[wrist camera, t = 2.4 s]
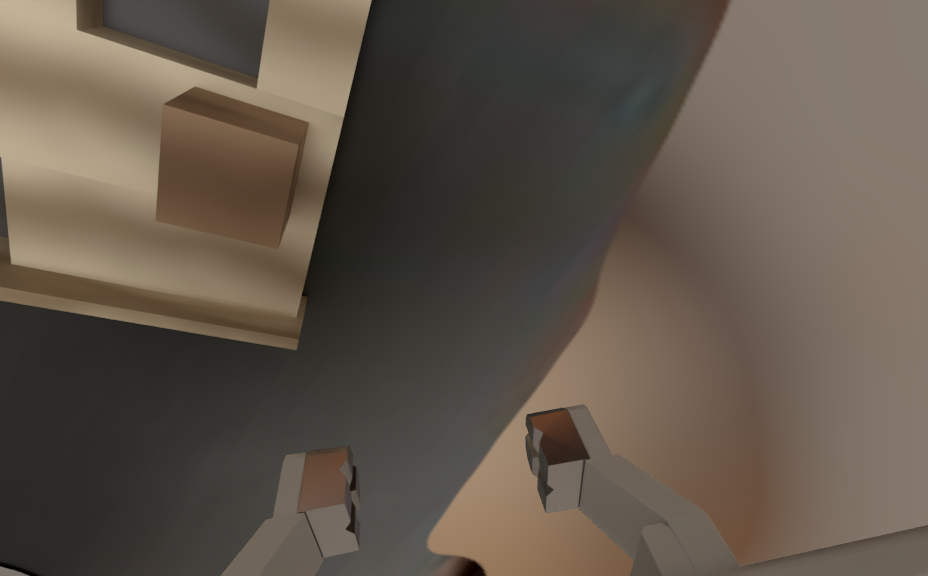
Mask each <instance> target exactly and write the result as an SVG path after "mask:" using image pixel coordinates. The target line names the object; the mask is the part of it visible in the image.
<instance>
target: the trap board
mask: <svg viewBox="0 0 928 576" xmlns="http://www.w3.org/2000/svg"><path fill="white" fill-rule="evenodd" d="M371 1H372V0H0V301H6V302H12V303H18V304H24V305H30V306H36V307H42V308H48V309H54V310H60V311H66V312H72V313H78V314H84V315H90V316H96V317H102V318H108V319H114V320H120V321H126V322H131V323H137V324H143V325H149V326H155V327H161V328H167V329H173V330H179V331H185V332H191V333H197V334H203V335H209V336H215V337H221V338H227V339H233V340H239V341H245V342H251V343H257V344H263V345H269V346H275V347H280V348H286V349H292V350H297V346H298V342H299V337H300V332H301V327H302V322H303V317H304V313H305V308H306V303H307V298H308V297H306V296H302V292H303V288H304V283H305V279H306V275H307V271H308V266H309V262H310V258H311V254H312V250H313V245H314V241H315V237H316V233H317V229H318V224H319V220H320V216H321V212H322V207H323V203H324V199H325V195H326V191H327V186H328V182H329V178H330V174H331V170H332V165H333V161H334V157H335V153H336V148H337V144H338V140H339V136H340V132H341V127H342V123H343V119H344V115H345V110H346V106H347V102H348V98H349V94H350V89H351V85H352V81H353V77H354V73H355V68H356V64H357V60H358V56H359V51H360V47H361V43H362V39H363V35H364V30H365V26H366V22H367V18H368V13H369V9H370V5H371ZM193 87H199V88H202V89H205V90H208V91H211V92H214V93H218V94H221V95H224V96H227V97H230V98H233V99H236V100H240V101H243V102H246V103H249V104H252V105H255V106H258V107H262V108H265V109H268V110H271V111H274V112H277V113H280V114H284V115H287V116H290V117H293V118H296V119H299V120H303V121H306V122H309V125H308V130H307V135H306V140H305V145H304V150H303V155H302V160H301V165H300V169H299V174H298V179H297V184H296V189H295V194H294V199H293V204H292V208H291V213H290V217H289V220H288V222H287V225H286V228H285V231H284V234H283V237H282V239H281V242H280V245H279V248H278V249H275V248H271V247H267V246H262V245H258V244H254V243H249V242H245V241H241V240H236V239H232V238H227V237H223V236H219V235H214V234H210V233H206V232H201V231H197V230H193V229H188V228H184V227H180V226H175V225H171V224H167V223H162V222H158V221H155V220H156V205H157V189H158V173H159V157H160V141H161V126H162V110H163V104H164V103H166V102H168V101H170V100H171V99H173V98H175V97H177V96H179V95H180V94H182V93H184V92H186V91H188V90H189V89H191V88H193Z"/></svg>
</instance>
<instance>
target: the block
mask: <svg viewBox="0 0 928 576" xmlns="http://www.w3.org/2000/svg"><path fill="white" fill-rule="evenodd" d="M308 125H309V122H306V121H303V120H299V119H296V118H293V117H290V116H287V115H284V114H280V113H277V112H274V111H271V110H268V109H265V108H262V107H258V106H255V105H252V104H249V103H246V102H243V101H240V100H236V99H233V98H230V97H227V96H224V95H221V94H218V93H214V92H211V91H208V90H205V89H202V88H199V87H193V88H191V89H189V90H188V91H186V92H184V93H182V94H180V95H179V96H177V97H175V98H173V99H171V100H170V101H168V102H166V103H164V104H163V110H162V126H161V141H160V157H159V173H158V189H157V205H156V220H155V221H158V222H162V223H167V224H171V225H175V226H180V227H184V228H188V229H193V230H197V231H201V232H206V233H210V234H214V235H219V236H223V237H227V238H232V239H236V240H241V241H245V242H249V243H254V244H258V245H262V246H267V247H271V248H275V249H278V248H279V245H280V242H281V239H282V237H283V234H284V231H285V228H286V225H287V222H288V220H289V217H290V213H291V208H292V204H293V199H294V194H295V189H296V184H297V179H298V174H299V169H300V165H301V160H302V155H303V150H304V145H305V140H306V135H307V130H308Z"/></svg>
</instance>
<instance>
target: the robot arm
mask: <svg viewBox="0 0 928 576" xmlns="http://www.w3.org/2000/svg"><path fill="white" fill-rule="evenodd" d="M526 427H527V429H528V432H529V433H528V434H527V436H526V452H527V457H528V461H529V465H530V468H531V471H532V474H534V475H535V476H536V477H537V478H538V492H539V495H540V498H541V501H542V504H543V506H544V509H545V512H546V513H551V512H557V511H563V510H569V509H575V508H579V510H580V511H581V512H582V513H583V514H584V515H586V516H587V517H588V518H589V519H590V520H591V521H592V522H593V523H594V524H595V525H596V526H597V527H598V528H599V529H600V530H602V531H603V532H604V533H605V534H606V535H607V536H608V537H609V538H610V539H611V540H612V541H613V542H614V543H615V544H617V545H618V546H619V547H620V548H621V549H622V550H623V551H624V552H625V553H626V554H627V555H628V556H629V557H631V558H632V559H633V560H634V564H633V567H632V571H631V575H630V576H928V525H926V526H922V527H917V528H913V529H908V530H903V531H899V532H894V533H890V534H885V535H881V536H876V537H871V538H867V539H862V540H858V541H853V542H849V543H845V544H840V545H836V546H831V547H826V548H822V549H817V550H812V551H808V552H804V553H799V554H794V555H790V556H785V557H781V558H777V559H772V560H767V561H763V562H758V563H754V564H749V565H744V566H740V564H739V563H738V561H737V560H736V558H735V557H734V555H733V554H732V552H731V550H730V549H729V547H728V546H727V544H726V543H725V541H724V540H723V538H722V537H721V535H720V534H719V532H718V530H717V529H716V527H715V526H714V524H713V523H712V521H711V519H710V518H709V516H708V515H707V513H706V512H704V511H703V510H702V509H700V508H699V507H697V506H695V505H694V504H693V503H691V502H689V501H688V500H686V499H685V498H683V497H682V496H680V495H679V494H677V493H676V492H674V491H673V490H671V489H670V488H668V487H667V486H665V485H663V484H662V483H661V482H659V481H658V480H656V479H655V478H653V477H652V476H650V475H649V474H647V473H646V472H644V471H643V470H641V469H640V468H638V467H637V466H635V465H634V464H632V463H631V462H629V461H628V460H626V459H625V458H623V457H621V456H620V455H619V454H617V455H612V453H611V452H610V449H609V448H608V446H607V444H606V442H605V440H604V438H603V436H602V435H601V433H600V431H599V429H598V427H597V425H596V423H595V421H594V420H593V418H592V416H591V414H590V412H589V410H588V408H587V407H586V406H585V405H577V406H572V407H566V408H559V409H554V410H548V411H542V412H537V413H532V414H527V416H526ZM359 507H360V482H359V476H358V471H357V467H356V466H354V465H353V453H352V450H351V447H350V446H343V447H337V448H330V449H323V450H316V451H309V452H304V453H297V454H291V455H286V457H285V459H284V461H283V464H282V470H281V475H280V480H279V486H278V491H277V496H276V502H275V507H274V513H273V518H271V519H266V520H265V521H264V523H263V524H262V525H261V526H260V528H259V529H258V530H257V531H256V533H255V534H254V535H253V536H252V538H251V539H250V540H249V541H248V542H247V544H246V545H245V546H244V547H243V549H242V550H241V551H240V552H239V554H238V555H237V556H236V557H235V559H234V560H233V561H232V562H231V563H230V565H229V566H228V567H227V568H226V570H225V571H224V572H223V573H222V575H221V576H315V575H316V573H317V571H318V569H319V568H320V566H321V564H322V562H323V558H326V557H330V556H335V555H339V554H344V553H348V552H353V551H357V550H360V521H359V517H358V514H357V510H358V509H359ZM0 576H29V575H26V574H24V573H21V572H18V571H15V570H11V569H7V568H3V567H0Z"/></svg>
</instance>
